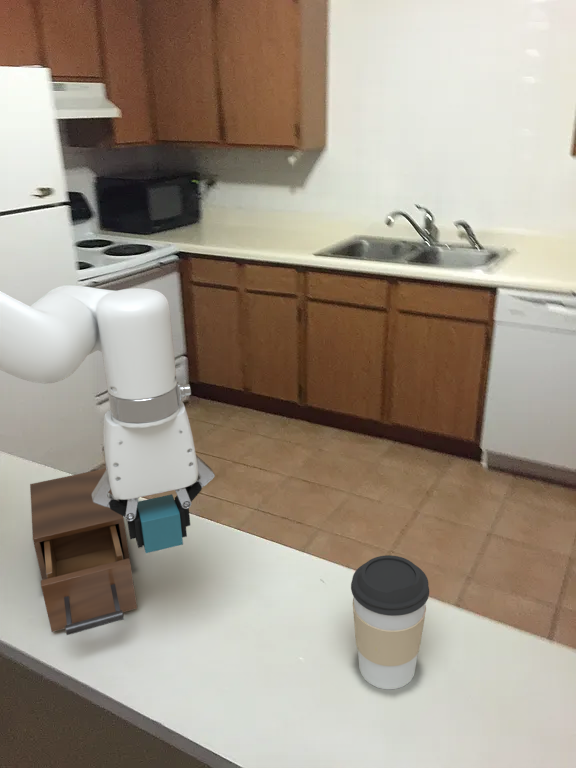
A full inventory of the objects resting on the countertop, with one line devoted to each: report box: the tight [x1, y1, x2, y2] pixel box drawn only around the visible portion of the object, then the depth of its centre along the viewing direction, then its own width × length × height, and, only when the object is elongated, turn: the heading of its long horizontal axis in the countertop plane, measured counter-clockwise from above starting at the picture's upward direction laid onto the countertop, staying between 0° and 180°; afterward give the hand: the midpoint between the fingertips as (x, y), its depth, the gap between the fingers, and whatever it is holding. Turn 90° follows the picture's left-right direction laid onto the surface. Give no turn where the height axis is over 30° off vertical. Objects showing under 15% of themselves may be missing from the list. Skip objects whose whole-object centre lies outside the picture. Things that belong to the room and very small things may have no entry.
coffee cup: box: [350, 554, 430, 690], centre depth 80 cm, size 9×9×15 cm
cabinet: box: [29, 467, 133, 580], centre depth 104 cm, size 16×13×10 cm
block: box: [137, 493, 184, 554], centre depth 81 cm, size 4×4×4 cm
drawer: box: [40, 525, 138, 636], centre depth 93 cm, size 21×11×8 cm, turn 21°
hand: (160, 534), depth 82 cm, fingers closed on block, 4 cm apart
